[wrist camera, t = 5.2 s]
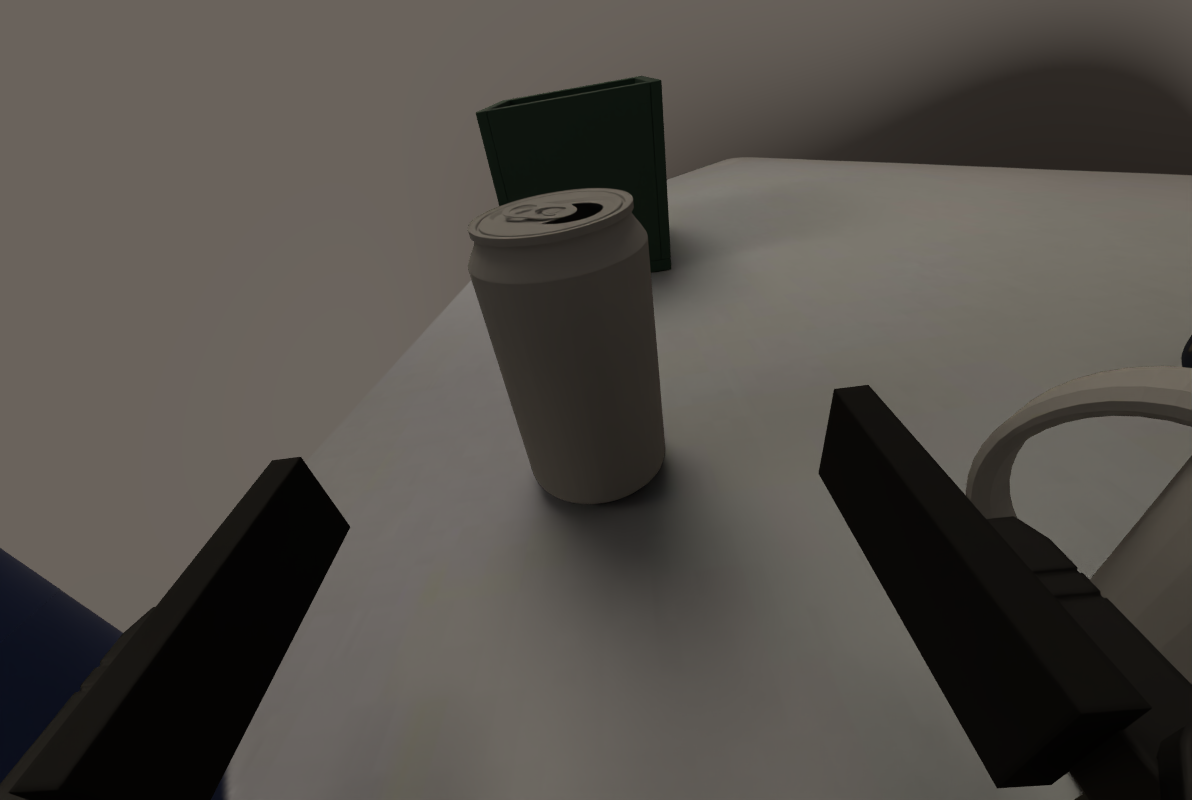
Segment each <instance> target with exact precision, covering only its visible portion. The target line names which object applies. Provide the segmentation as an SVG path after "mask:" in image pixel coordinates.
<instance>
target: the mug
mask: <svg viewBox="0 0 1192 800" xmlns="http://www.w3.org/2000/svg"><path fill="white" fill-rule="evenodd" d="M1103 416H1140V417H1147V418H1154V419H1161V420H1168V421H1172V422H1176V423H1180V424H1183V425H1187V426H1191V427H1192V368H1185V367H1172V366H1151V367H1130V368H1123V369H1116V370H1110V371H1103V372H1099V373H1095V374H1091V375H1088V376H1084V377H1080V378H1077V379H1073V380H1071V381H1069V382H1066V383H1064V384H1062V385H1059V386H1057V387H1054V388H1052V389H1050V390H1048V391H1046V392H1045V393H1043V394H1041V395H1040V396H1038V397H1036V398H1035V399H1033V400H1031V401H1030V402H1029V403H1027V404H1026V405H1025V406H1024V407H1023V408H1021V409H1020V410H1019V411H1018V412H1016V413H1015V414H1014V415H1013V416H1012V417H1010V418H1009V419H1008V420H1007V421H1006V422H1004V423H1003V424H1002V425H1001V426H1000V427H998V428H997V429H996V430H995V431H994V432H993V433H992V434H991V435H990V436H989V438H988V439H987V440H986V441H985V442H984V443H983V445H982V446H981V448H980V449H979V451H978V453H977V455H976V456H975V458H974V460H973V462H972V465H971V468H970V471H969V474H968V479H967V487H966V497H967V498H968V499H969V500H970V501H971V502H972V503H973V504H974V506H975V507H976V508H977V509H978V510H979V511H980V512H981V514H982V515H983V516H984V517H985V518H986V519H992V518H1001V517H1011V516H1014V517H1016V518H1017V516H1016V514H1015V511H1014V509H1013V506H1012V501H1011V497H1010V475H1011V469H1012V465H1013V463H1014V460H1015V458H1016V455H1017V453H1018V452H1019V450H1020V449H1021V447H1022V445H1023V444H1024V442H1025V441H1026V440H1027V439H1028V438H1030V437H1032V436H1034V435H1036V434H1038V433H1040V432H1042V431H1043V430H1045V429H1048V428H1051V427H1054V426H1057V425H1059V424H1062V423H1065V422H1070V421H1075V420H1079V419H1084V418H1091V417H1103ZM1090 581H1091V582H1092V583H1093V584H1094V585H1095V586H1096V587H1097V588H1098V589H1099V590H1100V591H1101V592H1100V593H1101V596H1102V597H1104V598H1108V599H1109V600H1110V601H1111V602H1112V603H1113V604H1114V605H1115V606H1116V608H1117V609H1118V610H1119V611H1120V612H1121V613H1122V614H1123V615H1124V616H1125V617H1126V618H1127V619H1128V620H1129V621H1130V622H1131V623H1132V624H1133V625H1134V626H1135V627H1136V628H1137V629H1138V630H1139V631H1140V632H1141V633H1142V634H1143V635H1144V636H1145V637H1146V638H1147V639H1148V640H1149V641H1150V642H1151V643H1152V644H1153V645H1154V646H1155V647H1156V648H1157V650H1158V651H1159V652H1160V653H1161V654H1162V655H1163V656H1164V657H1165V658H1166V659H1167V660H1168V661H1169V662H1170V663H1171V664H1172V665H1173V666H1174V667H1175V668H1176V669H1177V670H1178V671H1179V672H1180V673H1181V674H1182V675H1183V676H1184V677H1185V678H1186V679H1187V680H1188V681H1189V682H1190V683H1191V684H1192V456H1191V457H1190V458H1189V460H1188V461H1187V462H1186V463H1185V465H1184V466H1183V467H1182V468H1181V469H1180V471H1179V472H1178V473H1177V474H1176V476H1175V477H1174V478H1173V479H1172V480H1171V482H1170V483H1169V484H1168V485H1167V487H1166V488H1165V489H1164V490H1163V491H1162V493H1161V494H1160V495H1159V496H1158V497H1157V499H1156V500H1155V501H1154V502H1153V504H1152V505H1151V506H1150V507H1149V508H1148V510H1147V511H1146V512H1145V513H1144V515H1143V516H1142V517H1141V518H1140V519H1139V521H1138V522H1137V523H1136V524H1135V526H1134V527H1133V528H1132V529H1131V530H1130V532H1129V533H1128V534H1127V535H1126V537H1125V538H1124V539H1123V540H1122V541H1121V543H1120V544H1119V545H1118V546H1117V547H1116V549H1115V550H1114V551H1113V552H1112V554H1111V555H1110V556H1109V557H1108V558H1107V560H1106V561H1105V562H1104V563H1103V565H1102V566H1101V567H1100V568H1099V569H1098V571H1097V572H1096V573H1095V574H1094V576H1093V577H1092V578H1091V579H1090ZM1076 782H1077V781H1076ZM1078 785H1079V784H1078ZM1080 788H1081V787H1080ZM1082 791H1083V790H1082Z"/></svg>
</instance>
